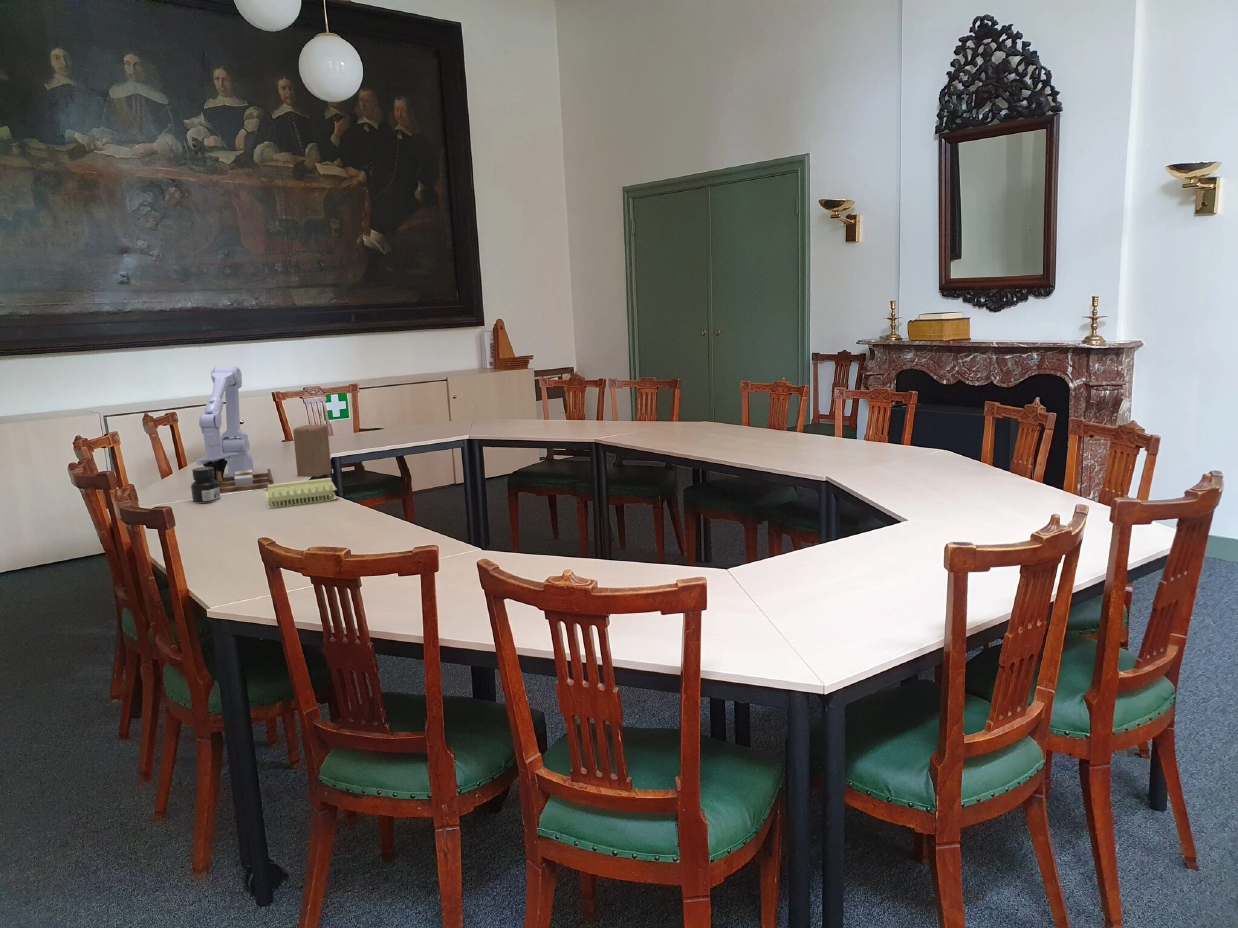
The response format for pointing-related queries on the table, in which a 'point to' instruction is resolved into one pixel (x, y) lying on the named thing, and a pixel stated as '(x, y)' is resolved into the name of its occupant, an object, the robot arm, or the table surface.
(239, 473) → the birch block
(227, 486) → the lane shelf
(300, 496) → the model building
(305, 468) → the wooden block
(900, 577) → the table surface
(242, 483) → the grey block
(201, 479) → the ink bottle
